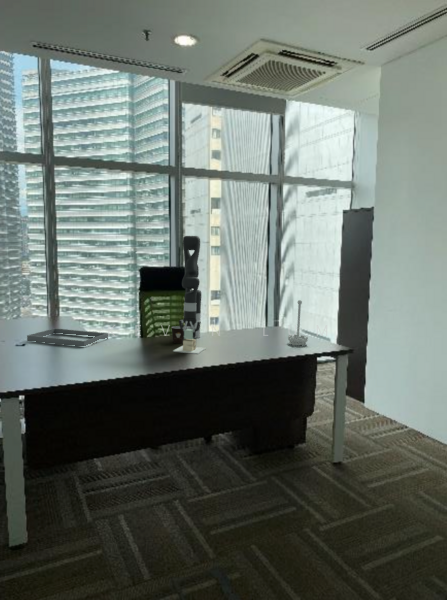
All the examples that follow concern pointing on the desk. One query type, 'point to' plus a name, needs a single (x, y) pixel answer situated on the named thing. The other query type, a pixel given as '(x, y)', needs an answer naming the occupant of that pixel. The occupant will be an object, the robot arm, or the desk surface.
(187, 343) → the maple block
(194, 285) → the robot arm
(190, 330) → the sage block
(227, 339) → the desk surface
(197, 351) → the desk pad
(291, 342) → the flag stand
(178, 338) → the coffee mug
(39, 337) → the document tray
